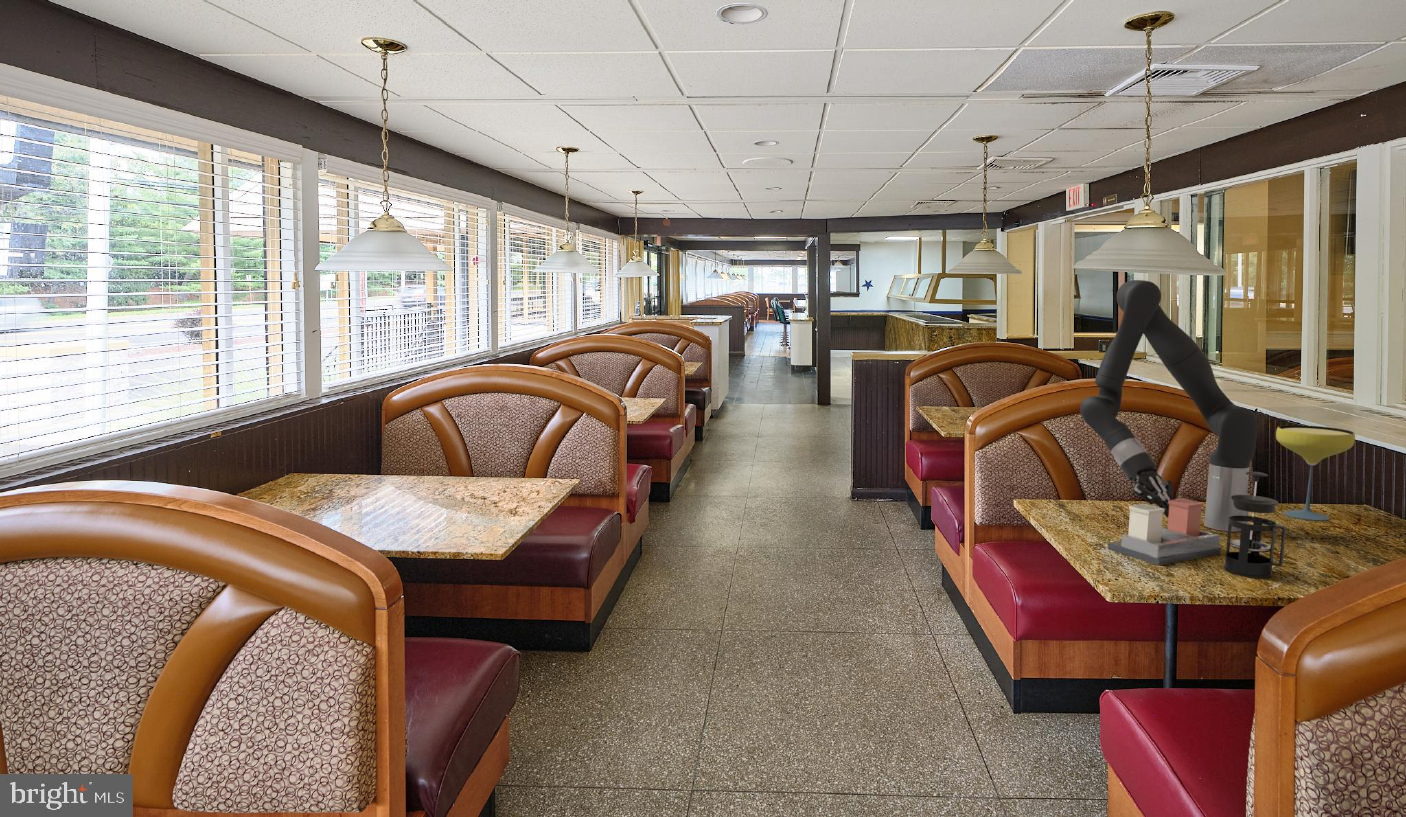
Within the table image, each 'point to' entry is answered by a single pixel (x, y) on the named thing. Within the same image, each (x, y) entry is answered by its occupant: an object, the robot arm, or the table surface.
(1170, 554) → the dark grey tray
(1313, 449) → the cocktail glass
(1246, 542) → the french press
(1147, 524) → the white tall block
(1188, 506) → the pink boxy piece
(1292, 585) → the table surface
